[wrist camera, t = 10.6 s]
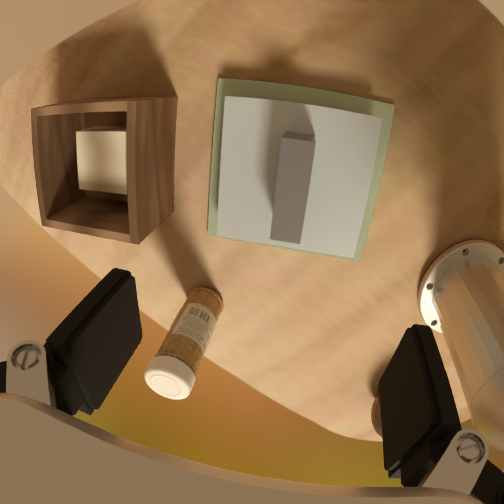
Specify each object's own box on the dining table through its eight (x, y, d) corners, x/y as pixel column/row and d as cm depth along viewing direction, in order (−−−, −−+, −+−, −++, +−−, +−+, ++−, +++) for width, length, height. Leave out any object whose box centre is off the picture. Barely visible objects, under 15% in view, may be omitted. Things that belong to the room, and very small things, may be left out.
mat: (394, 105, 25) (395, 105, 24) (359, 259, 32) (359, 261, 32) (219, 78, 26) (218, 77, 26) (208, 233, 34) (207, 235, 34)
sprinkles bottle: (181, 298, 39) (134, 379, 27) (203, 278, 37) (157, 362, 25) (209, 321, 40) (172, 406, 28) (232, 304, 38) (199, 393, 26)
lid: (376, 116, 25) (394, 122, 19) (350, 246, 31) (357, 281, 26) (232, 95, 27) (210, 96, 21) (223, 225, 33) (204, 256, 27)
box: (177, 96, 28) (136, 100, 21) (173, 211, 33) (138, 244, 27) (81, 99, 29) (31, 108, 22) (85, 198, 35) (42, 225, 28)
